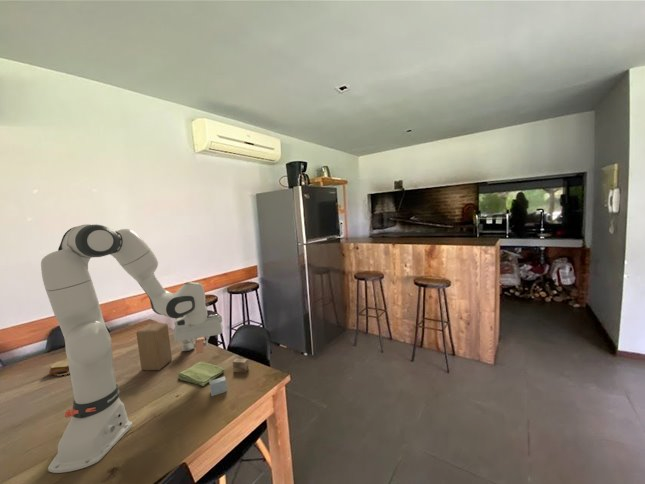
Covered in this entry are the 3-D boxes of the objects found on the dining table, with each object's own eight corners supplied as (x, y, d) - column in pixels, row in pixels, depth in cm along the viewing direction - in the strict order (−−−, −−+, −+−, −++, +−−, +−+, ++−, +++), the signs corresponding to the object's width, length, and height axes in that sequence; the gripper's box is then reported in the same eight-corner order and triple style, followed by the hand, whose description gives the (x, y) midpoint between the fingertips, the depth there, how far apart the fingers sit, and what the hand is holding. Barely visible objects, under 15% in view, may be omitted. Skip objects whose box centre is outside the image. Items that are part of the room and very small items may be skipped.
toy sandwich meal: (77, 374, 134) (76, 365, 134) (44, 379, 131) (42, 370, 131) (92, 361, 146) (90, 353, 146) (62, 366, 143) (60, 357, 143)
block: (173, 359, 142) (168, 322, 140) (159, 370, 132) (154, 331, 130) (155, 359, 143) (150, 323, 141) (140, 371, 133) (135, 331, 131)
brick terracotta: (203, 352, 123) (202, 341, 122) (196, 353, 122) (194, 342, 122) (205, 346, 129) (204, 335, 128) (198, 347, 128) (197, 337, 128)
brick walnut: (248, 369, 129) (247, 359, 128) (245, 372, 126) (244, 362, 125) (236, 368, 130) (235, 358, 130) (233, 372, 127) (232, 361, 127)
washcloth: (203, 389, 116) (202, 381, 116) (176, 379, 124) (175, 373, 124) (227, 372, 128) (226, 365, 128) (200, 364, 136) (200, 358, 136)
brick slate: (225, 387, 116) (224, 376, 115) (227, 391, 113) (225, 379, 113) (210, 392, 113) (209, 381, 113) (211, 396, 110) (210, 385, 110)
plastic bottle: (182, 348, 153) (178, 314, 151) (195, 345, 156) (191, 311, 154) (181, 354, 148) (177, 318, 146) (195, 350, 150) (191, 315, 148)
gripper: (222, 311, 129) (225, 339, 131) (174, 318, 125) (178, 347, 126) (220, 315, 123) (223, 345, 125) (170, 323, 118) (174, 353, 120)
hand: (200, 346), depth 125 cm, fingers closed on brick terracotta, 3 cm apart
